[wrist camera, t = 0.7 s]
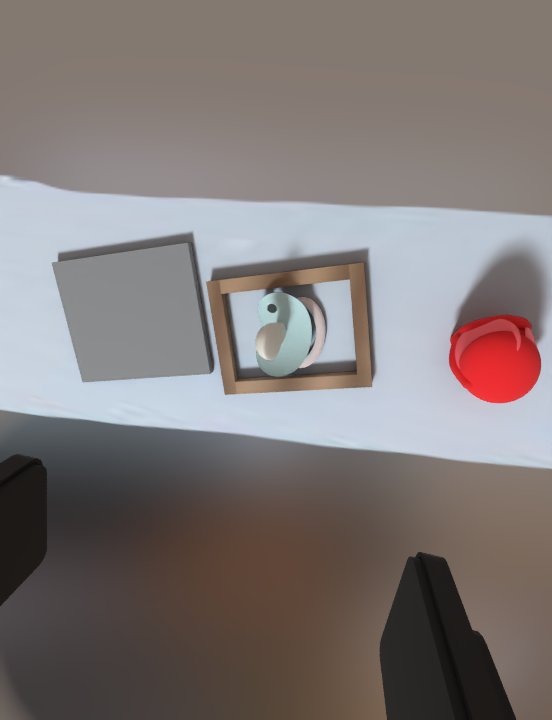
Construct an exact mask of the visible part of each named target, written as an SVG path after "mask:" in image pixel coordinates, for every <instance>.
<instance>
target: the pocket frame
mask: <svg viewBox="0 0 552 720" xmlns="http://www.w3.org/2000/svg"><path fill="white" fill-rule="evenodd" d="M348 279H350V286H351V299H352V313H353V326H354V339H355V353H356V366H357V371H352V372H336V373H320V374H304V375H288V376H279V377H276V376H272V377H256V378H240V379H238V375H237V368H236V362H235V355H234V349H233V342H232V336H231V329H230V323H229V316H228V310H227V304H226V297H225V293H234V292H243V291H251V290H260V289H269V288H278V287H286V286H295V285H304V284H313V283H321V282H330V281H339V280H348ZM206 283H207V289H208V295H209V301H210V307H211V313H212V319H213V325H214V331H215V337H216V343H217V350H218V356H219V362H220V368H221V374H222V380H223V386H224V392H225V395H228V394H246V393H265V392H284V391H302V390H321V389H340V388H358V387H372V377H371V362H370V347H369V331H368V316H367V301H366V285H365V270H364V262H361V263H353V264H345V265H337V266H328V267H320V268H312V269H304V270H296V271H288V272H280V273H271V274H263V275H255V276H247V277H239V278H231V279H223V280H214V281H208V282H206Z"/></svg>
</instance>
